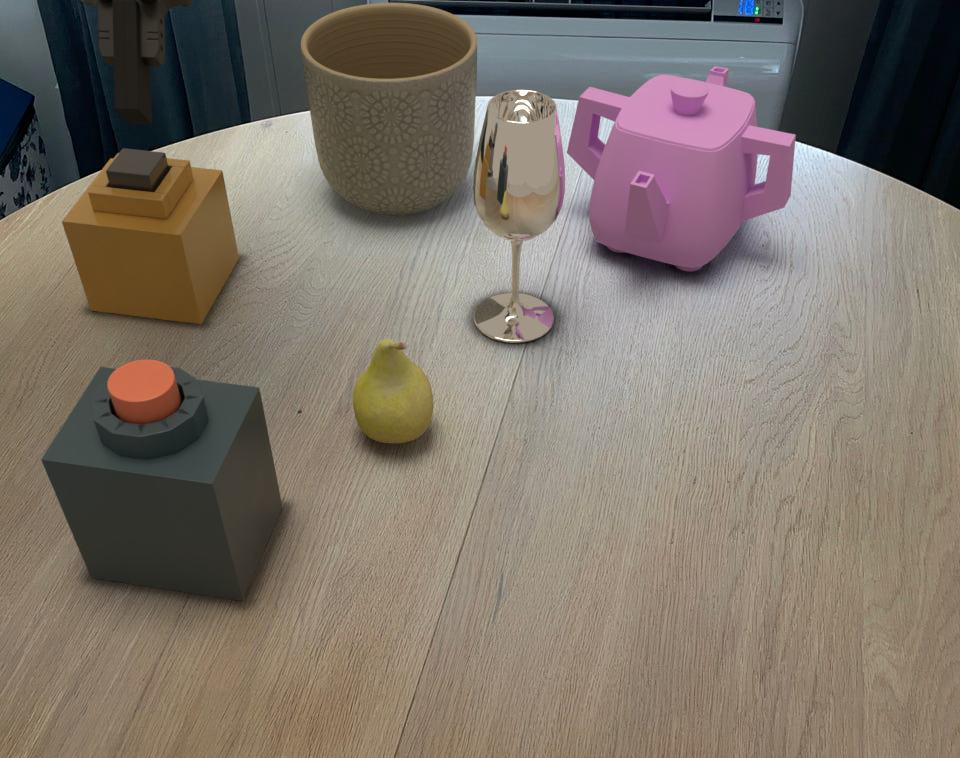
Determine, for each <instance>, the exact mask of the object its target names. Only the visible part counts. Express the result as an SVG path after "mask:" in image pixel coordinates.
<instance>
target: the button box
mask: <svg viewBox="0 0 960 758" xmlns="http://www.w3.org/2000/svg"><path fill="white" fill-rule="evenodd" d="M169 367H170V368H171V369H172V370H173V372H174V374H175V378H176V382H177V385H178V389H179V393H180V397H181V402H180V406H179V408H178V410H177V411H176V412H175V413H173V414H172V415H170V416H168V417H167V418H165V419H164V420H162V421H157V422H152V423H147V424H143V425H141V424H134V423H127V422H125V421H123V420H122V419H121V418H119V417H118V415H117V414H116V412H115V409H114V406H113V403H112V400H111V397H110V394H109V391H108V388H107V382H108V379H109V377H110V375H111V374H112V373H113V372H114V371H115V370H116V369H117V368H114V367H106V366H100V367H99V368H98V370H97V371H96V373H95V375H94V376H93V377H92V379H91V381H90V382H89V383H88V385H87V387H86V389H84V391H83V393H82V395H81V396H80V398H79V399H78V401H77V403H76V404H75V406H73V409H72V410H71V412H70V413H69V415H68V417H67V418H66V419H65V421H64V423H63V424H62V426H61V428H60V429H59V431H58V432H57V433H56V435H55V436H54V438H53V440H52V442H51V443H50V445H49V446H48V448H47V449H46V450H45V452H44V454H43V456H42V457H41V459H40V460H41V463H42V465H43V467H44V470H45V473H46V475H47V477H48V480H49V482H50V484H51V487H52V489H53V492H54V494H55V496H56V499H57V501H58V504H59V506H60V508H61V510H62V512H63V515H64V517H65V520H66V522H67V524H68V527H69V529H70V531H71V534H72V536H73V539H74V541H75V543H76V546H77V549H78V551H79V553H80V556H81V558H82V560H83V562H84V565H85V567H86V570H87V572H88V574H89V576H90V578H91V579H97V580H104V581H110V582H116V583H122V584H130V585H137V586H143V587H148V588H156V589H162V590H168V591H169V590H170V591H175V592H182V593H188V594H195V595H201V596H208V597H215V598H220V599H221V598H222V599H226V600H227V599H228V600H233V601H240V602H243V601H244V600H245V597H246V595H247V592H248V590H249V587H250V585H251V582H252V580H253V578H254V576H255V574H256V571H257V568H258V566H259V564H260V561H261V559H262V557H263V555H264V552H265V549H266V547H267V545H268V543H269V540H270V539H271V538H270V537H271V536H272V533H273V530H274V528H275V526H276V523H277V521H278V518H279V517H280V514H281V511H282V510H283V503H282V502H283V501H282V498H281V492H280V488H279V482H278V476H277V472H276V466H275V461H274V456H273V451H272V446H271V440H270V435H269V430H268V425H267V420H266V415H265V410H264V404H263V399H262V394H261V388H260V386H251V385H243V384H236V383H229V382H220V381H213V380H206V379H199V378H196V377H195V376H193V375H192V374H190V373H189V372H187V371H186V370H184V369H182V368H180V367H175V366H169Z"/></svg>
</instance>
